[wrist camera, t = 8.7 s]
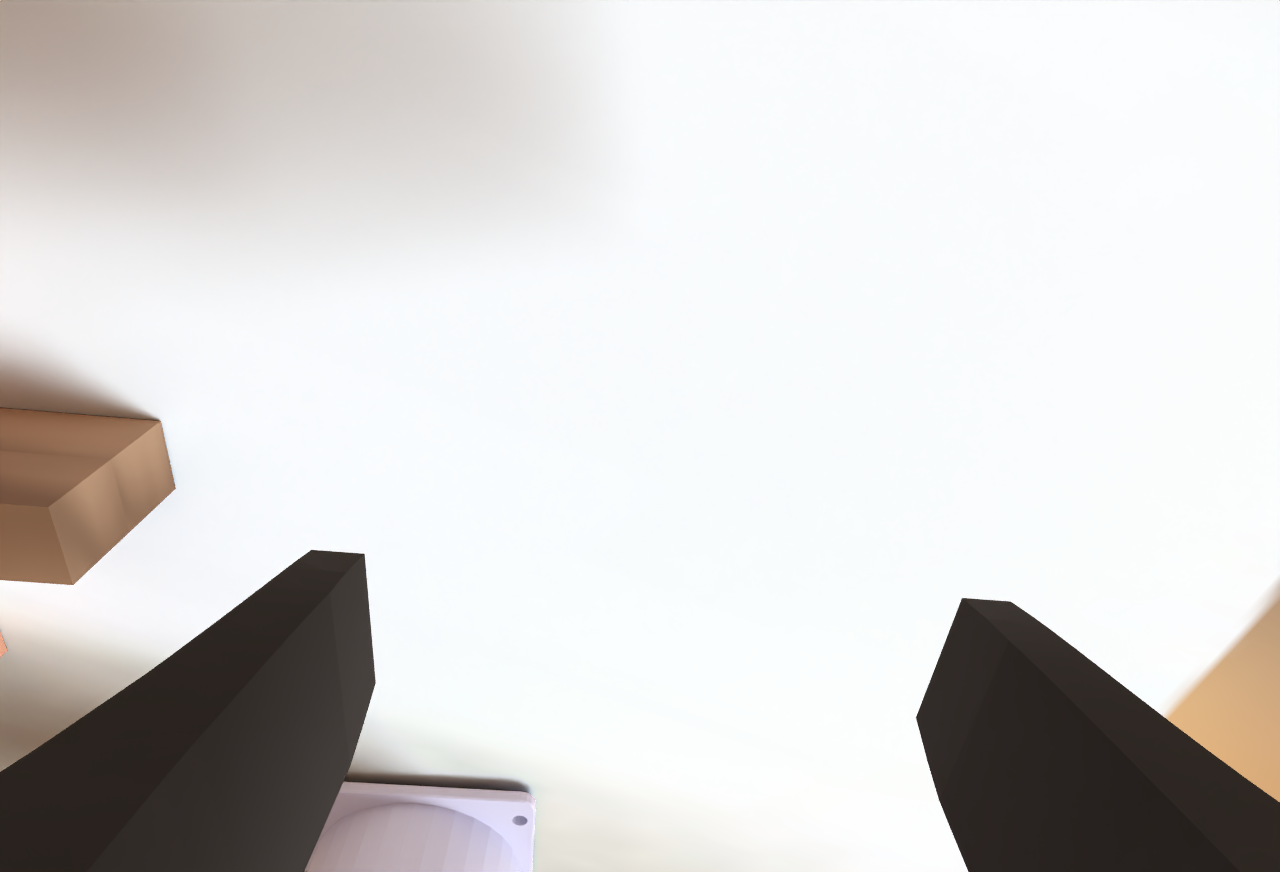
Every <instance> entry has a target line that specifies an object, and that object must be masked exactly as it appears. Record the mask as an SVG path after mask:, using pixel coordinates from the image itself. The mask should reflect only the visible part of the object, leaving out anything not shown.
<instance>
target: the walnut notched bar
mask: <svg viewBox="0 0 1280 872" xmlns="http://www.w3.org/2000/svg"><path fill="white" fill-rule="evenodd" d="M175 489H176V488H175V484H174V479H173V475H172V470H171V466H170V461H169V457H168V452H167V448H166V443H165V438H164V434H163V429H162V425H161V421H152V420H140V419H128V418H116V417H104V416H92V415H80V414H68V413H56V412H44V411H32V410H20V409H8V408H0V580H9V581H23V582H37V583H52V584H66V585H74V584H75V583H76V582H77V581H78V580H79V579H80V578H81V577H82V576H83V575H84V574H85V573H86V572H87V571H88V570H89V569H91V568H92V567H93V566H94V565H95V564H96V563H97V562H98V561H99V560H100V559H101V558H102V557H103V556H104V555H105V554H107V553H108V552H109V551H110V550H111V549H112V548H113V547H114V546H115V545H116V544H117V543H118V542H119V541H120V540H121V539H122V538H124V537H125V536H126V535H127V534H128V533H129V532H130V531H131V530H132V529H133V528H134V527H135V526H136V525H137V524H138V523H139V522H141V521H142V520H143V519H144V518H145V517H146V516H147V515H148V514H149V513H150V512H151V511H152V510H153V509H154V508H155V507H157V506H158V505H159V504H160V503H161V502H162V501H163V500H164V499H165V498H166V497H167V496H168V495H169V494H170V493H171V492H172V491H174V490H175Z"/></svg>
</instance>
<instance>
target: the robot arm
mask: <svg viewBox="0 0 1280 872" xmlns="http://www.w3.org/2000/svg"><path fill="white" fill-rule="evenodd" d="M374 686H375V671H374V659H373V648H372V636H371V624H370V613H369V601H368V589H367V578H366V566H365V555H364V554H359V553H345V552H332V551H318V550H311V551H309V552H308V553H307V554H305V555H304V556H302V557H301V558H300V559H298V560H297V561H296V562H294V563H293V564H292V565H290V566H289V567H288V568H286V569H285V570H284V571H282V572H281V573H280V574H278V575H277V576H276V577H275V578H273V579H272V580H271V581H269V582H268V583H267V584H265V585H264V586H263V587H262V588H260V589H259V590H258V591H256V592H255V593H254V594H252V595H251V596H250V597H248V598H247V599H246V600H245V601H243V602H242V603H241V604H239V605H238V606H237V607H235V608H234V609H233V610H231V611H230V612H229V613H227V614H226V615H225V616H223V617H222V618H221V619H220V620H218V621H217V622H216V623H214V624H213V625H212V626H210V627H209V628H208V629H206V630H205V631H204V632H202V633H201V634H199V635H198V636H197V637H195V638H194V639H193V640H191V641H190V642H189V643H187V644H186V645H185V646H183V647H182V648H181V649H179V650H178V651H177V652H175V653H174V654H173V655H171V656H170V657H168V658H167V659H166V660H164V661H163V662H162V663H160V664H159V665H158V666H156V667H155V668H154V669H152V670H151V671H149V672H148V673H147V674H145V675H144V676H142V677H141V678H139V679H138V680H136V681H135V682H133V683H132V684H131V685H129V686H128V687H126V688H125V689H123V690H122V691H120V692H119V693H117V694H116V695H114V696H113V697H112V698H110V699H109V700H107V701H106V702H104V703H103V704H101V705H100V706H98V707H97V708H95V709H94V710H93V711H91V712H90V713H88V714H87V715H85V716H84V717H82V718H81V719H79V720H78V721H76V722H75V723H74V724H72V725H71V726H69V727H68V728H66V729H65V730H63V731H62V732H60V733H59V734H57V735H56V736H55V737H53V738H52V739H50V740H49V741H47V742H46V743H44V744H43V745H41V746H40V747H38V748H37V749H35V750H34V751H32V752H31V753H29V754H28V755H26V756H24V757H23V758H21V759H20V760H18V761H17V762H15V763H14V764H12V765H10V766H9V767H7V768H6V769H4V770H3V771H1V772H0V872H304V871H305V869H306V872H532V867H533V849H534V832H535V814H536V800H535V798H534V797H533V796H532V795H531V794H529V793H527V792H520V791H502V790H484V789H466V788H448V787H430V786H412V785H394V784H376V783H358V782H344V779H345V777H346V774H347V772H348V770H349V767H350V765H351V762H352V758H353V755H354V752H355V749H356V746H357V743H358V740H359V736H360V733H361V730H362V727H363V724H364V720H365V717H366V713H367V710H368V707H369V703H370V700H371V696H372V693H373V690H374ZM916 719H917V723H918V726H919V730H920V734H921V738H922V742H923V745H924V749H925V753H926V757H927V761H928V764H929V767H930V771H931V774H932V778H933V781H934V784H935V788H936V791H937V794H938V798H939V801H940V803H941V806H942V808H943V811H944V813H945V816H946V818H947V821H948V823H949V826H950V828H951V830H952V833H953V835H954V838H955V840H956V843H957V845H958V847H959V850H960V852H961V855H962V857H963V859H964V862H965V864H966V867H967V869H968V872H1280V802H1278V801H1277V800H1275V799H1274V798H1272V797H1271V796H1270V795H1268V794H1267V793H1265V792H1264V791H1263V790H1261V789H1260V788H1258V787H1257V786H1256V785H1254V784H1253V783H1251V782H1250V781H1248V780H1247V779H1246V778H1244V777H1243V776H1242V775H1240V774H1239V773H1238V772H1236V771H1235V770H1234V769H1232V768H1231V767H1230V766H1228V765H1227V764H1226V763H1224V762H1223V761H1221V760H1220V759H1219V758H1217V757H1216V756H1215V755H1213V754H1212V753H1211V752H1209V751H1208V750H1206V749H1205V748H1204V747H1203V746H1201V745H1200V744H1199V743H1197V742H1196V741H1195V740H1193V739H1192V738H1191V737H1189V736H1188V735H1187V734H1185V733H1184V732H1183V731H1181V730H1180V729H1179V728H1177V727H1176V726H1175V725H1174V724H1172V723H1171V722H1169V721H1168V720H1167V719H1166V718H1164V717H1163V716H1162V715H1160V714H1159V713H1158V712H1157V711H1155V710H1154V709H1153V708H1151V707H1150V706H1149V705H1147V704H1146V703H1145V702H1144V701H1142V700H1141V699H1140V698H1138V697H1137V696H1136V695H1134V694H1133V693H1132V692H1131V691H1129V690H1128V689H1127V688H1125V687H1124V686H1123V685H1122V684H1120V683H1119V682H1118V681H1116V680H1115V679H1114V678H1113V677H1111V676H1110V675H1109V674H1107V673H1106V672H1105V671H1104V670H1102V669H1101V668H1100V667H1098V666H1097V665H1096V664H1095V663H1093V662H1092V661H1091V660H1089V659H1088V658H1087V657H1085V656H1084V655H1083V654H1082V653H1080V652H1079V651H1078V650H1076V649H1075V648H1074V647H1072V646H1071V645H1070V644H1069V643H1067V642H1066V641H1065V640H1063V639H1062V638H1061V637H1059V636H1058V635H1057V634H1055V633H1054V632H1053V631H1051V630H1050V629H1049V628H1047V627H1046V626H1045V625H1043V624H1042V623H1041V622H1039V621H1038V620H1036V619H1035V618H1034V617H1032V616H1031V615H1029V614H1028V613H1027V612H1025V611H1024V610H1022V609H1021V608H1019V607H1018V606H1016V605H1015V604H1013V603H1012V602H1008V601H994V600H980V599H967V598H962V600H961V603H960V605H959V608H958V610H957V613H956V616H955V618H954V621H953V623H952V626H951V629H950V631H949V634H948V636H947V639H946V641H945V644H944V647H943V649H942V652H941V654H940V657H939V660H938V662H937V665H936V667H935V670H934V673H933V675H932V678H931V680H930V683H929V685H928V688H927V691H926V693H925V696H924V698H923V701H922V704H921V706H920V709H919V711H918V714H917V716H916Z"/></svg>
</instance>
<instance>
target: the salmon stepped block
mask: <svg viewBox="0 0 1280 872" xmlns="http://www.w3.org/2000/svg"><path fill="white" fill-rule="evenodd" d="M6 651H7V648H6V645H5V643H4V640H3V638H2V635H1V633H0V657H1V656H2V655H3V654H4V653H5V652H6Z"/></svg>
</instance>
